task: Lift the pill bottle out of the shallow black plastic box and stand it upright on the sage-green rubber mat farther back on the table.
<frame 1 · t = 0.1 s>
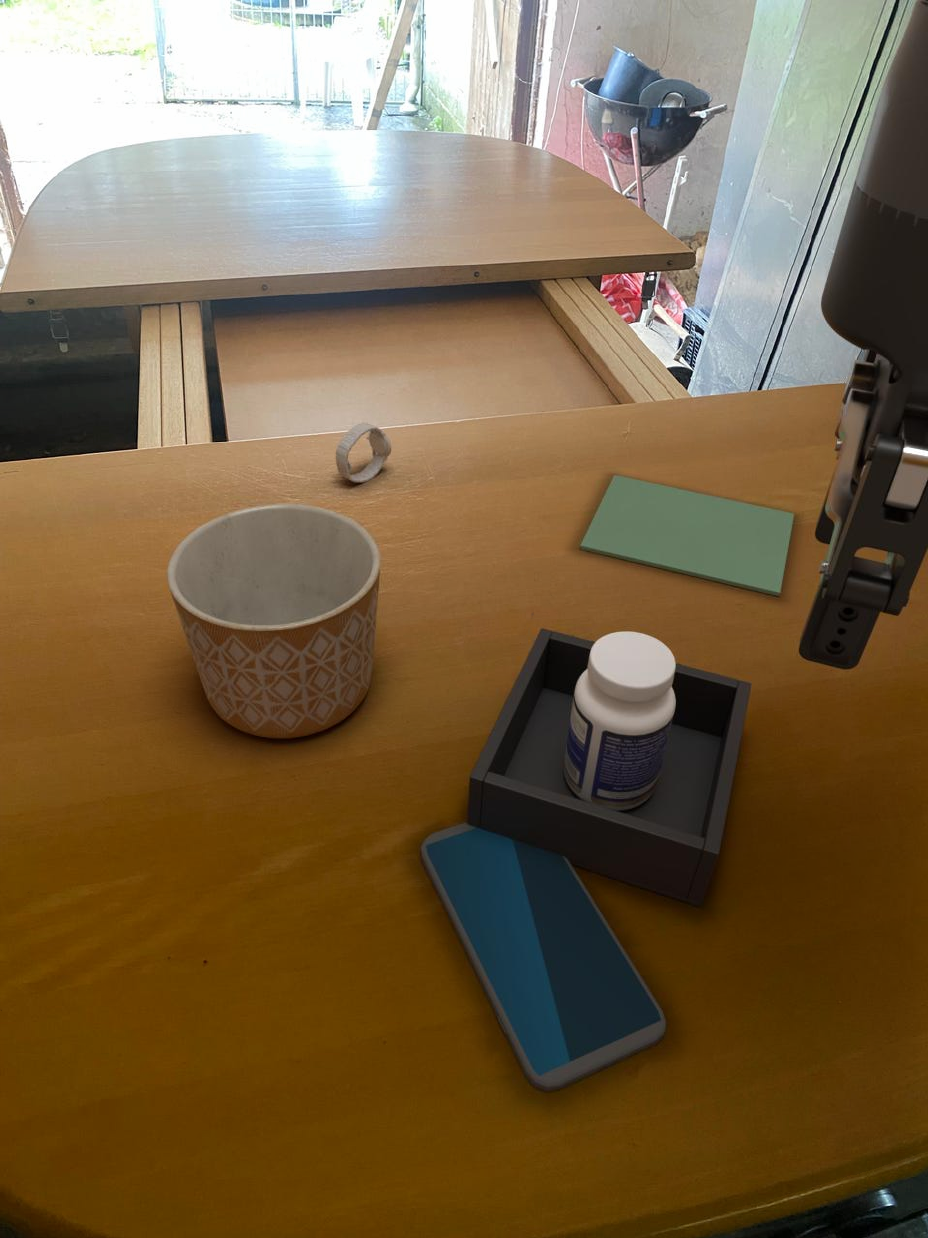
hand: (832, 595, 39), 20 cm above the table, tool pointing down, fingers open, 8 cm apart
wristwatch: (362, 479, 83), on the table
black box: (608, 780, 57), on the table
smartphone: (532, 938, 49), on the table
pill bottle: (608, 779, 56), resting on black box
planter: (290, 687, 62), on the table
mat: (689, 532, 78), on the table
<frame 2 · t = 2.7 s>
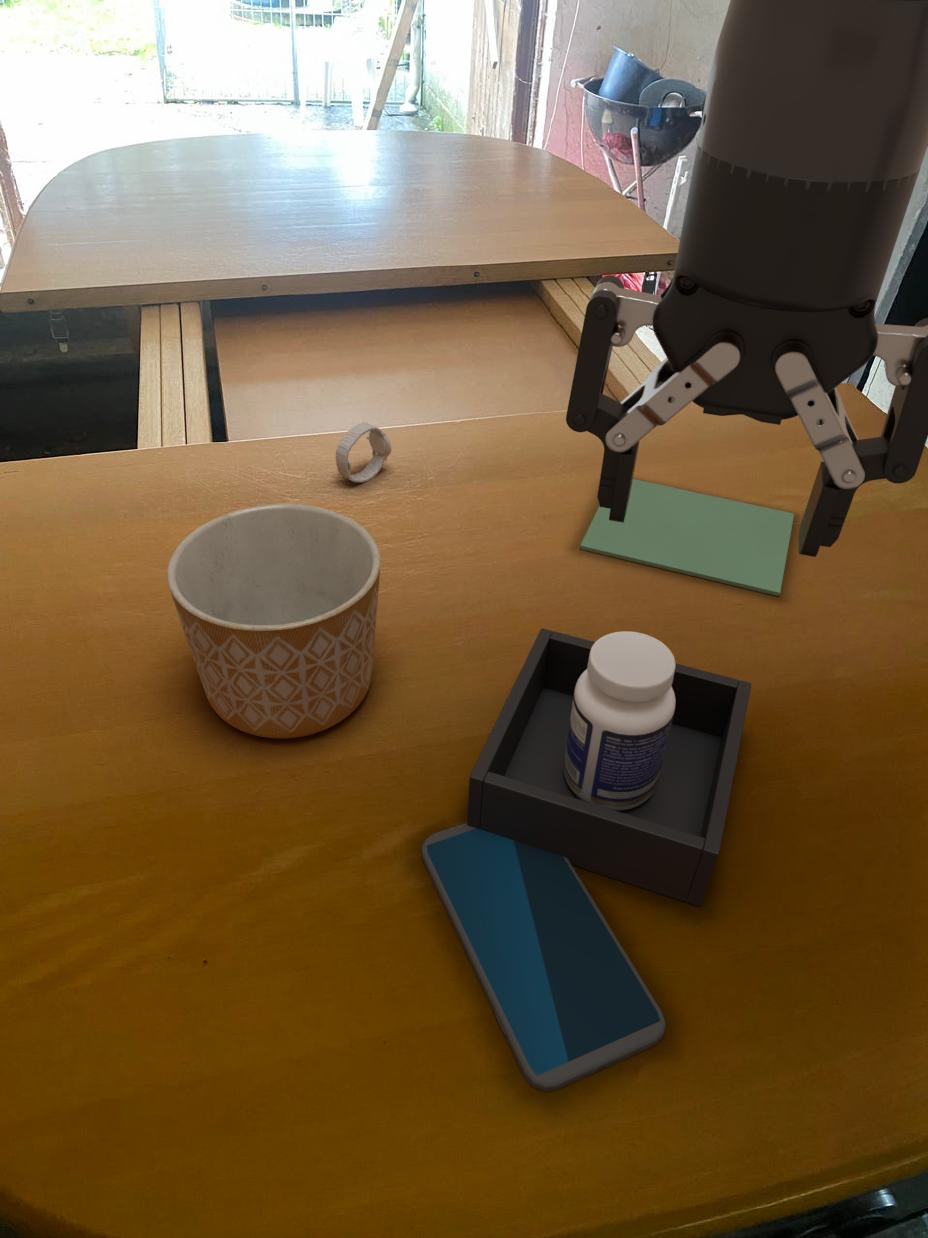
hand: (711, 529, 42), 20 cm above the table, tool pointing down, fingers open, 8 cm apart
nothing on the table moved.
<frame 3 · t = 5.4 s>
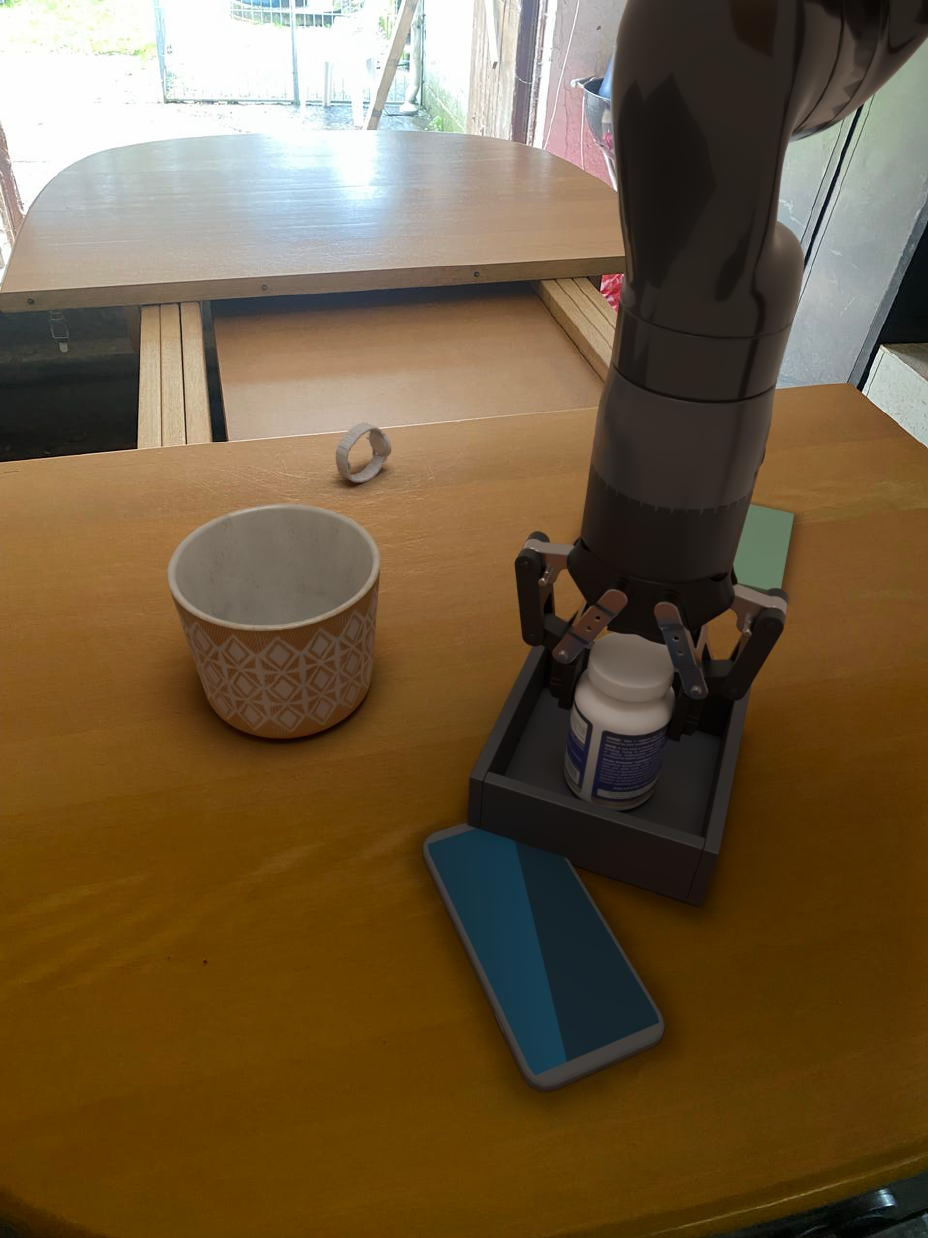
hand: (621, 714, 53), 6 cm above the table, tool pointing down, fingers closed on pill bottle, 5 cm apart
pill bottle: (608, 779, 56), resting on black box, touching gripper
everything else where it was.
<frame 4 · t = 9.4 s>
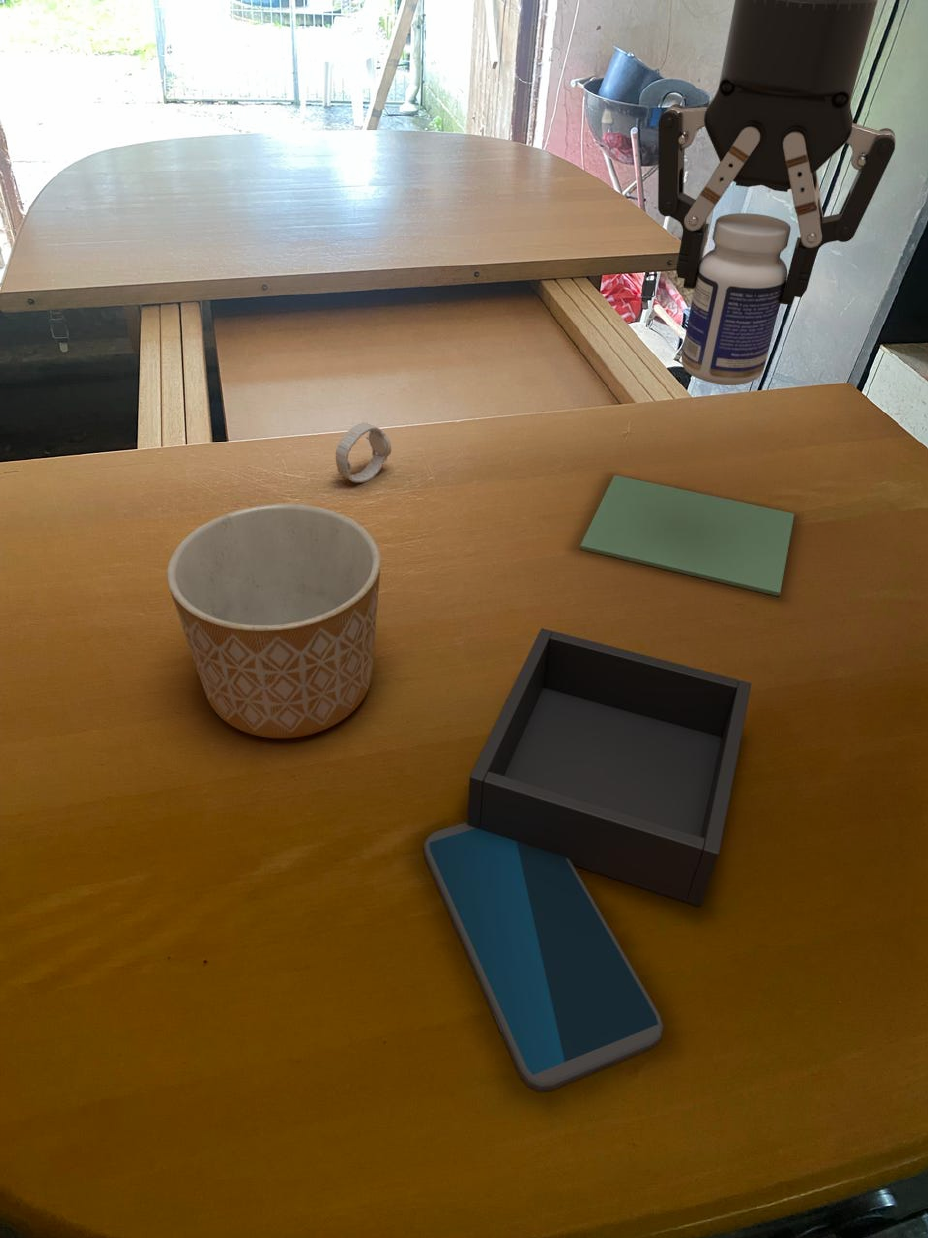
hand: (738, 291, 61), 22 cm above the table, tool pointing down, fingers closed on pill bottle, 5 cm apart
pill bottle: (719, 372, 65), point 16 cm above the table, touching gripper
everything else where it was.
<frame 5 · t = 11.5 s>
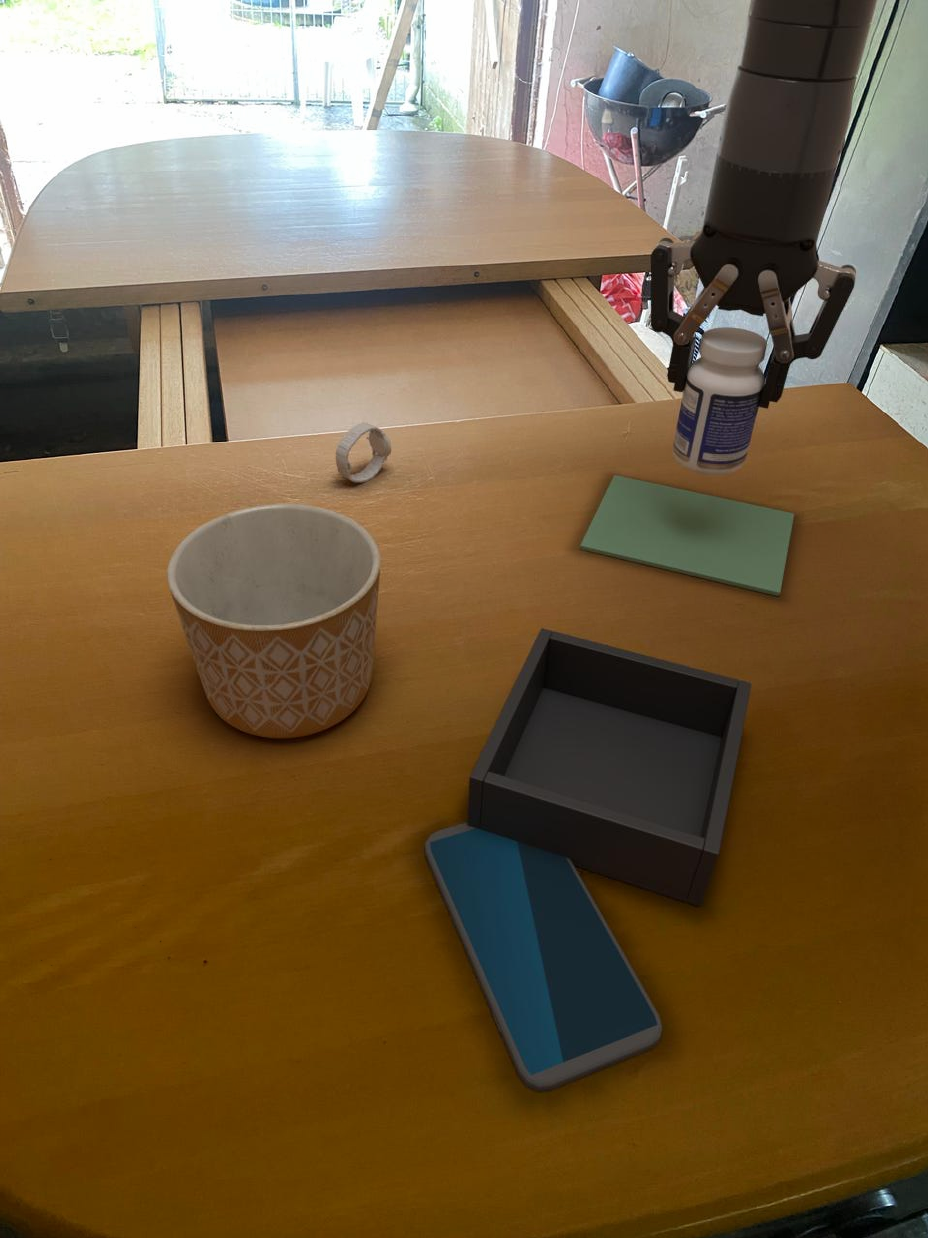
hand: (722, 394, 69), 13 cm above the table, tool pointing down, fingers closed on pill bottle, 5 cm apart
pill bottle: (706, 461, 73), point 7 cm above the table, touching gripper
everything else where it was.
when the fingers open (6 cm above the table, at t = 13.6 s): pill bottle stays where it is, resting on mat.
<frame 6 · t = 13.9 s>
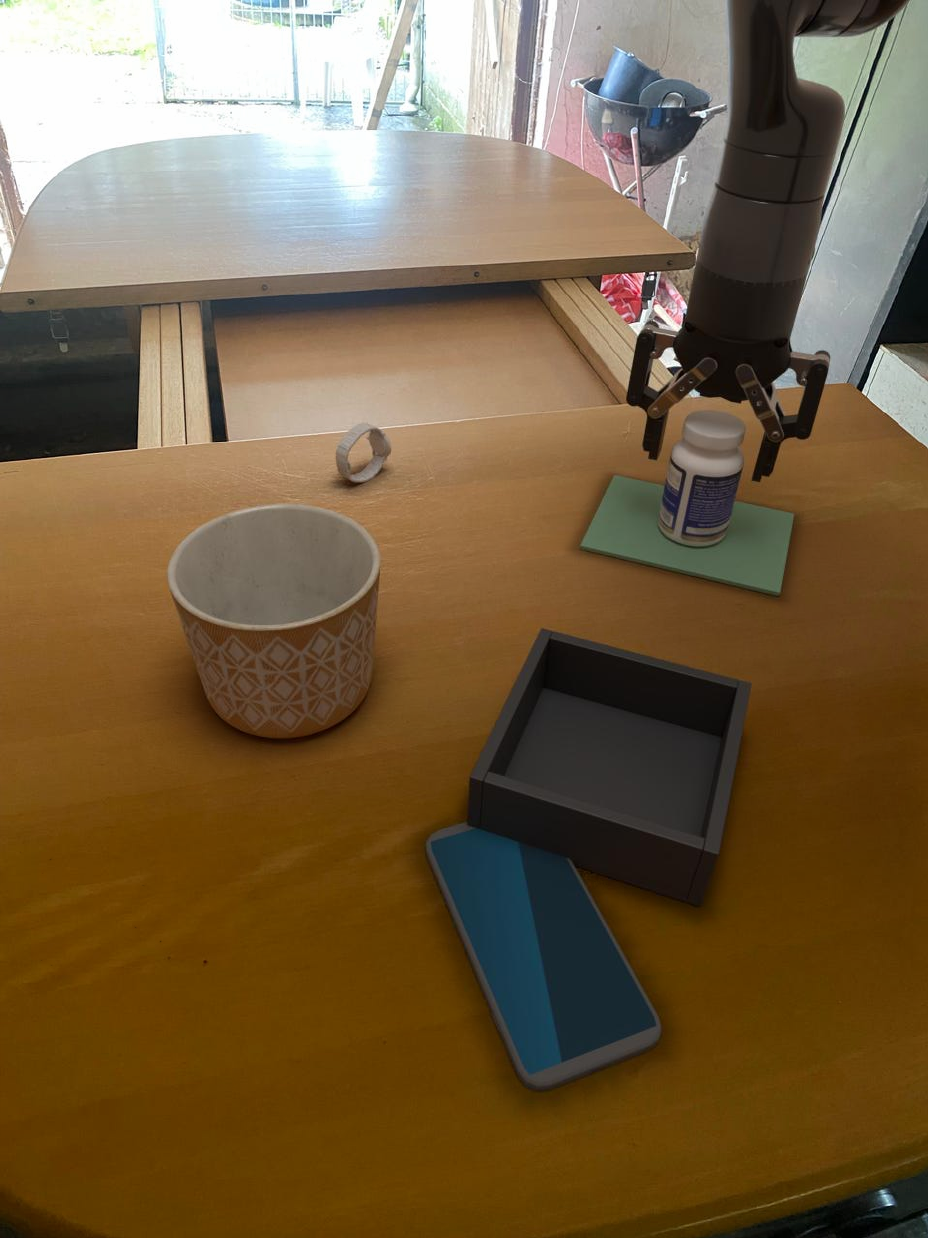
hand: (705, 466, 73), 6 cm above the table, tool pointing down, fingers open, 7 cm apart
pill bottle: (690, 531, 77), resting on mat
everything else where it was.
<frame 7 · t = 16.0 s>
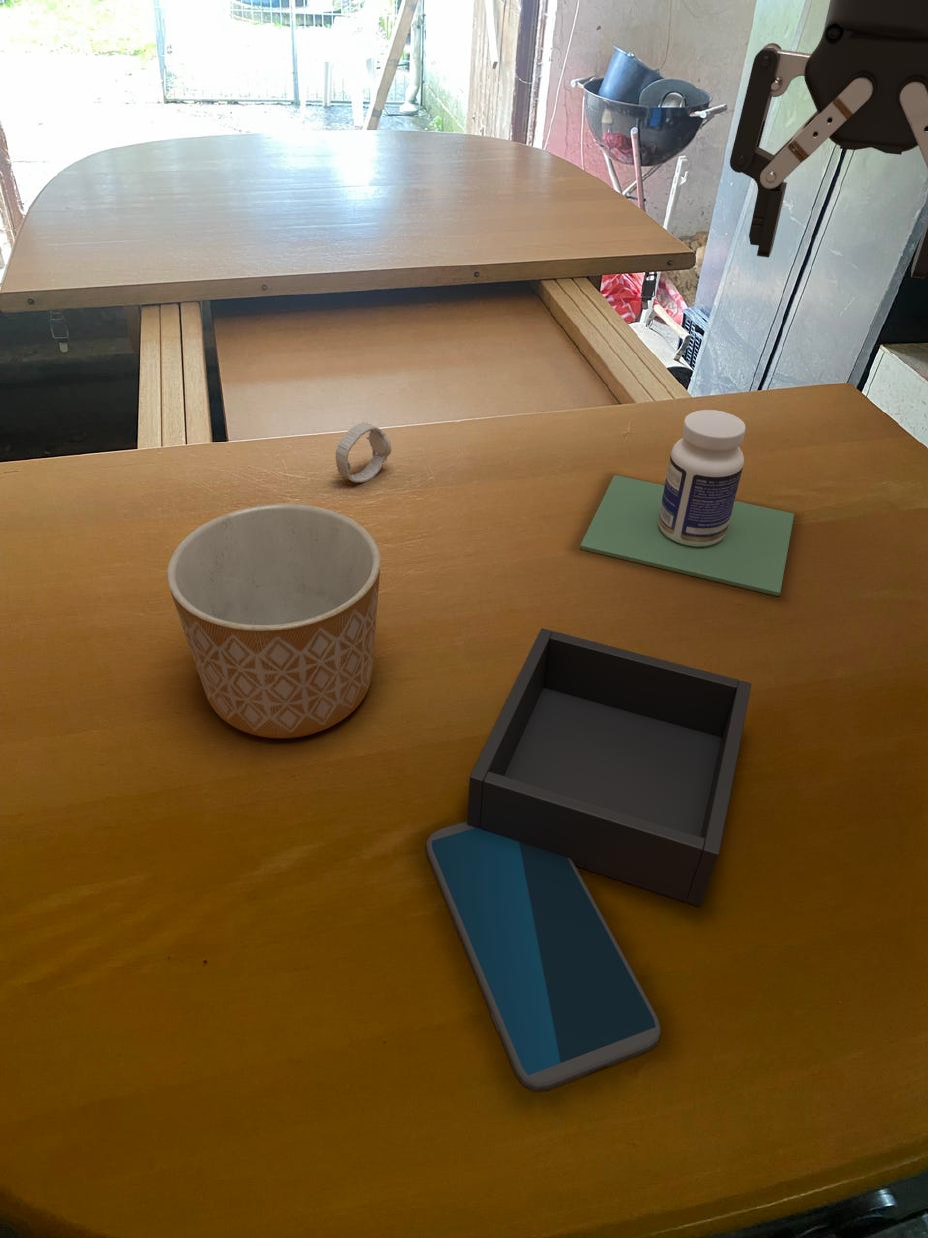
hand: (839, 263, 53), 26 cm above the table, tool pointing down, fingers open, 8 cm apart
nothing on the table moved.
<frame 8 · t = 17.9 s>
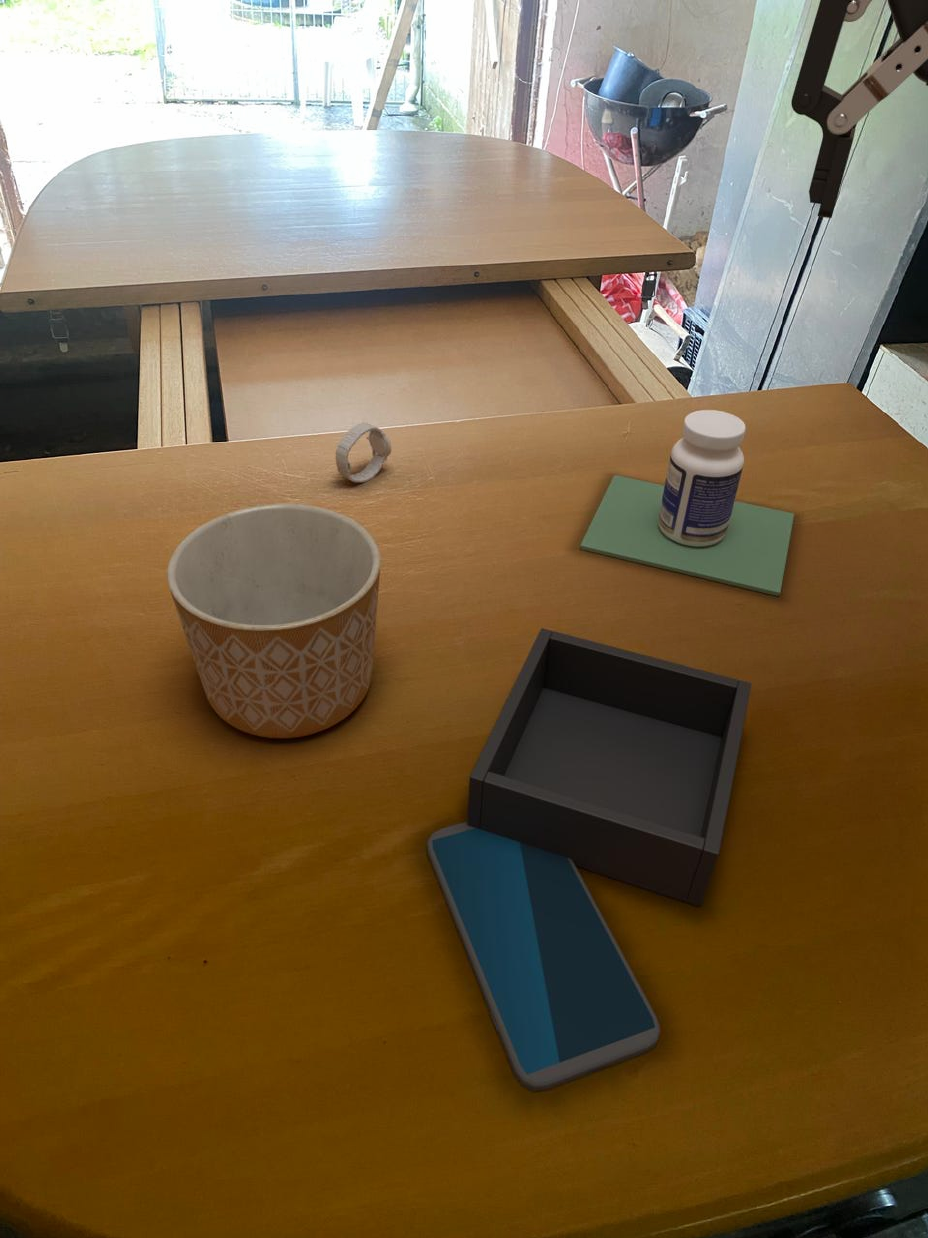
hand: (914, 226, 45), 30 cm above the table, tool pointing down, fingers open, 8 cm apart
nothing on the table moved.
at the end: pill bottle inside the target area on the mat (0.1 cm from its centre), point 0.2 cm above the mat's base; pill bottle tilted 0°; pill bottle touching mat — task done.
